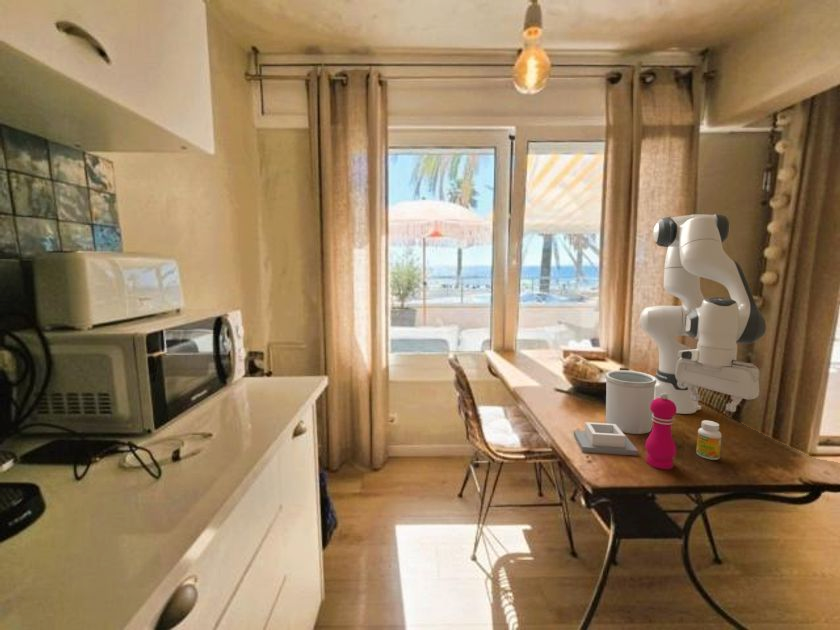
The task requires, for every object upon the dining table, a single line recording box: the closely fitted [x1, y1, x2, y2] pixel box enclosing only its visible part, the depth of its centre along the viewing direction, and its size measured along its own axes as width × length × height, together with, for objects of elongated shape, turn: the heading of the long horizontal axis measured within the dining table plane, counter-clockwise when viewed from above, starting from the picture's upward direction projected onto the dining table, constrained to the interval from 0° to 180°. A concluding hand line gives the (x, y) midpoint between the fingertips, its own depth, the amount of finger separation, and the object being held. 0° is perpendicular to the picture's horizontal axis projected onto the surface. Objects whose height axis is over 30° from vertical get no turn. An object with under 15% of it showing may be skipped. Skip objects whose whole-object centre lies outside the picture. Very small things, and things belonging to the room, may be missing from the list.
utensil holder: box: [605, 369, 656, 435], centre depth 131 cm, size 15×15×18 cm
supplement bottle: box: [695, 419, 722, 461], centre depth 110 cm, size 5×5×10 cm
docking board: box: [573, 421, 639, 456], centre depth 118 cm, size 12×15×5 cm
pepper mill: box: [644, 393, 677, 470], centre depth 105 cm, size 7×7×20 cm
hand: (712, 405), depth 109 cm, fingers open, 8 cm apart
